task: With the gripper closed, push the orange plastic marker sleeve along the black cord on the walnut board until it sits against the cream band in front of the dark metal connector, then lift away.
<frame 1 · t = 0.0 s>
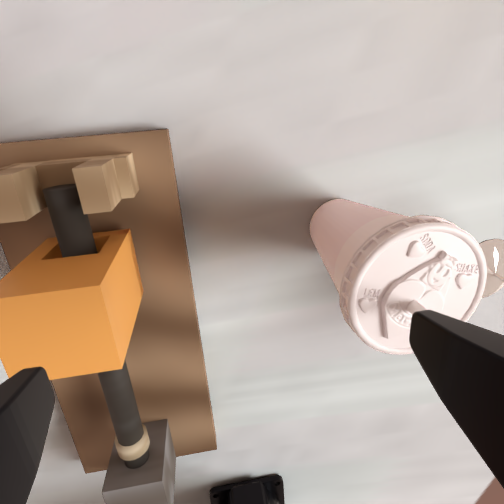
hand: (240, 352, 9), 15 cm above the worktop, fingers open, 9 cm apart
marker sleeve: (80, 295, 17), point 5 cm above the worktop, slide at 0.0 cm
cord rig: (122, 321, 24), on the worktop
smoothie: (335, 224, 24), on the worktop
wineglass: (484, 268, 27), on the worktop
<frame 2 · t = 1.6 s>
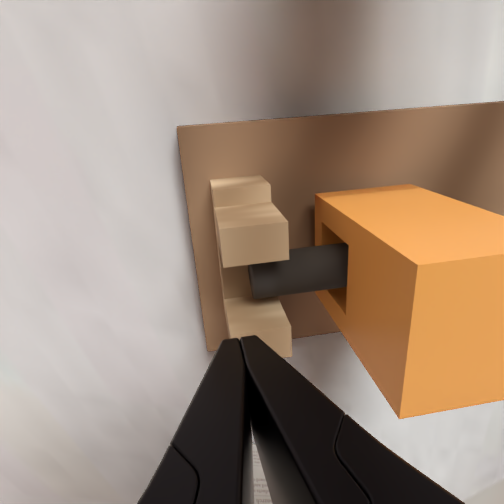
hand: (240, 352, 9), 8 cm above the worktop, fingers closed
marker sleeve: (405, 275, 12), point 5 cm above the worktop, slide at 0.0 cm
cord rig: (441, 215, 17), on the worktop
supplement box: (226, 480, 22), on the worktop
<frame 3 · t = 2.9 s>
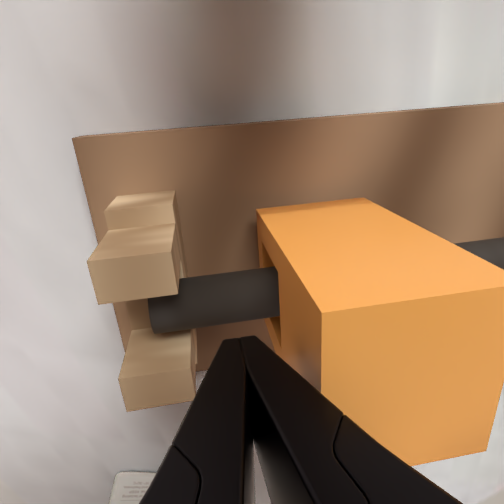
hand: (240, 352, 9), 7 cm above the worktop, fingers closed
marker sleeve: (347, 305, 10), point 5 cm above the worktop, slide at 0.7 cm, touching gripper
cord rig: (390, 230, 16), on the worktop
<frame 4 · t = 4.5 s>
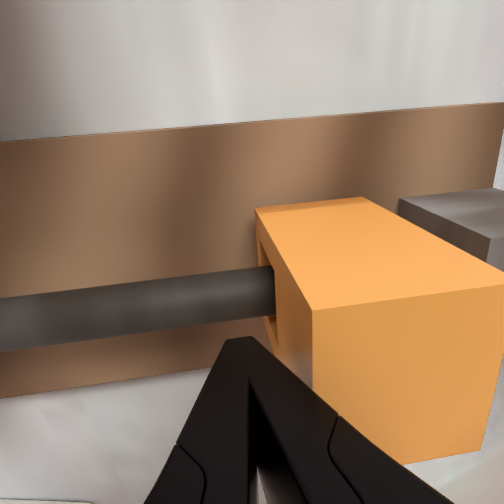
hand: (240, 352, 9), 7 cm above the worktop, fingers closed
marker sleeve: (343, 303, 10), point 5 cm above the worktop, slide at 9.2 cm, touching gripper
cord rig: (200, 252, 15), on the worktop
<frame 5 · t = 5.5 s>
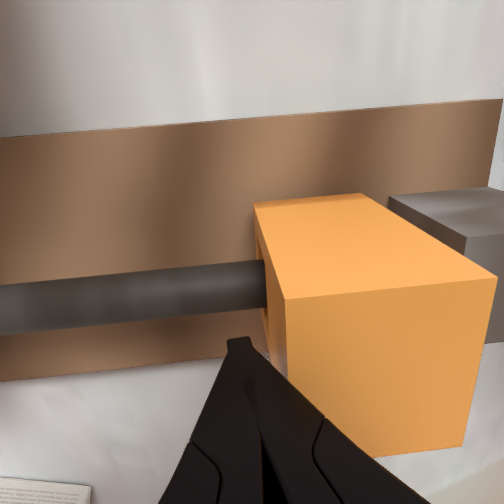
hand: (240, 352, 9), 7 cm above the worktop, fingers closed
marker sleeve: (334, 298, 11), point 5 cm above the worktop, slide at 9.6 cm, touching gripper
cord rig: (191, 247, 15), on the worktop
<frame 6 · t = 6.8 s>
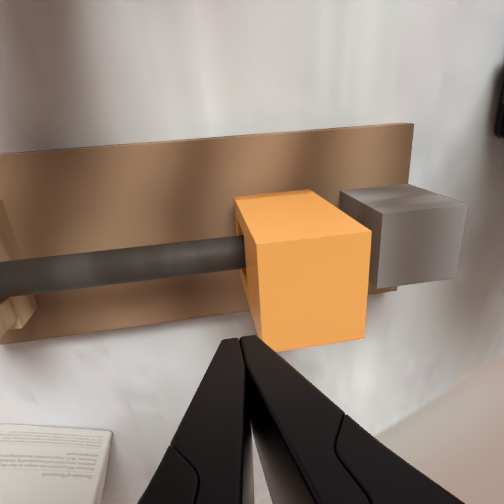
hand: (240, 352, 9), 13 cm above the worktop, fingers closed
marker sleeve: (290, 258, 16), point 5 cm above the worktop, slide at 9.1 cm
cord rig: (197, 230, 20), on the worktop
supplement box: (54, 461, 25), on the worktop
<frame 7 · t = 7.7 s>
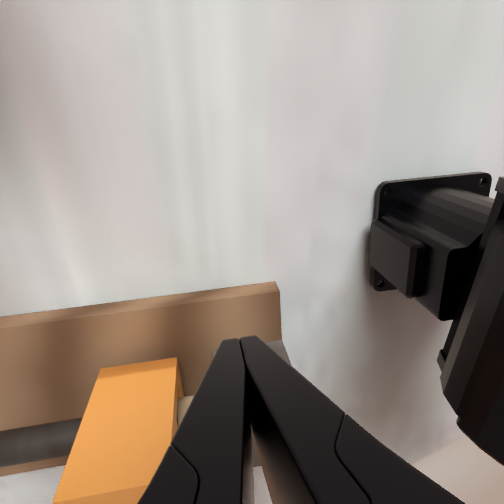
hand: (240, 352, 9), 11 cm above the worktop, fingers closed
marker sleeve: (137, 449, 17), point 5 cm above the worktop, slide at 9.1 cm
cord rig: (80, 382, 21), on the worktop
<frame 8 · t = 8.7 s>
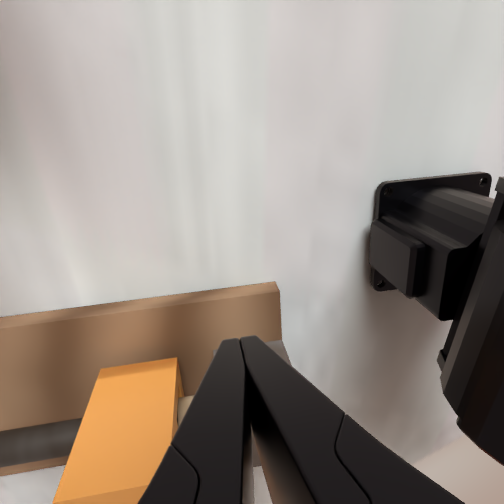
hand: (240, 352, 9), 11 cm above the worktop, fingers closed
marker sleeve: (137, 449, 17), point 5 cm above the worktop, slide at 9.1 cm
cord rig: (81, 382, 21), on the worktop
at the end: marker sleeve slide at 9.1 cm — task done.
